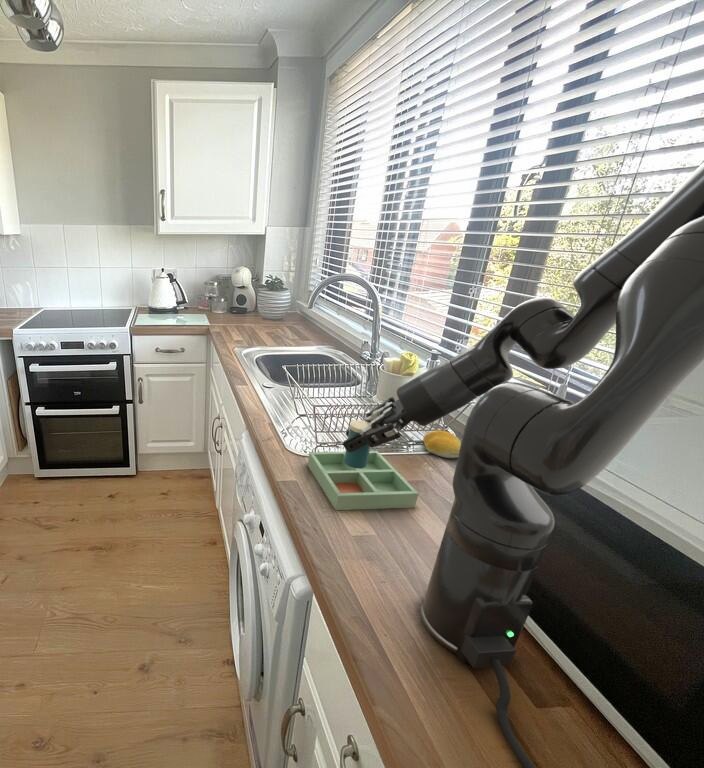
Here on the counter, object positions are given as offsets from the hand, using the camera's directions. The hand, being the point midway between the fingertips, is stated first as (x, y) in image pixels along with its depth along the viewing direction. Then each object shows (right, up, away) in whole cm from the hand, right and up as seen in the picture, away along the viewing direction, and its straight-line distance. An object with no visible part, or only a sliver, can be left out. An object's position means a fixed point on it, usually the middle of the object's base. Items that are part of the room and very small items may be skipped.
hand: (347, 441), depth 77 cm
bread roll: (+30, -5, +21) cm, 38 cm away
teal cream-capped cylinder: (+2, -4, +1) cm, 4 cm away
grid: (+5, -10, +7) cm, 13 cm away
